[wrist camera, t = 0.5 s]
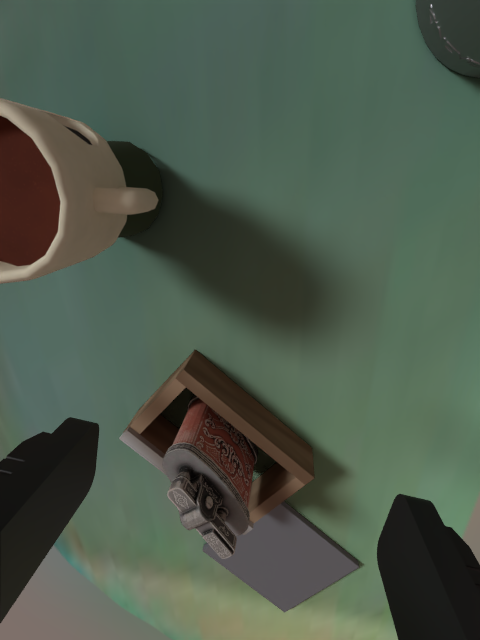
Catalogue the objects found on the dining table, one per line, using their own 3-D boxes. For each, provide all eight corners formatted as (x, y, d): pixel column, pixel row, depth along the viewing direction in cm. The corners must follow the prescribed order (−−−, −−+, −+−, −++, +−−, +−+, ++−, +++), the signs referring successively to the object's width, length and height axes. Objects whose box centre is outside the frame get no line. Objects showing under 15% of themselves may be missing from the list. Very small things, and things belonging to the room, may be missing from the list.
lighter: (181, 401, 32) (136, 490, 23) (212, 383, 31) (178, 469, 22) (235, 469, 34) (214, 577, 25) (266, 454, 33) (257, 561, 24)
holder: (195, 349, 30) (181, 372, 27) (312, 448, 32) (314, 482, 28) (138, 409, 33) (119, 438, 29) (249, 497, 35) (244, 535, 31)
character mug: (200, 138, 25) (114, 96, 13) (197, 246, 27) (123, 297, 15) (45, 129, 26) (-170, 83, 14) (56, 234, 29) (-118, 272, 16)
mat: (272, 492, 34) (272, 497, 34) (358, 561, 36) (359, 567, 35) (203, 545, 38) (202, 550, 37) (284, 606, 39) (284, 612, 38)
